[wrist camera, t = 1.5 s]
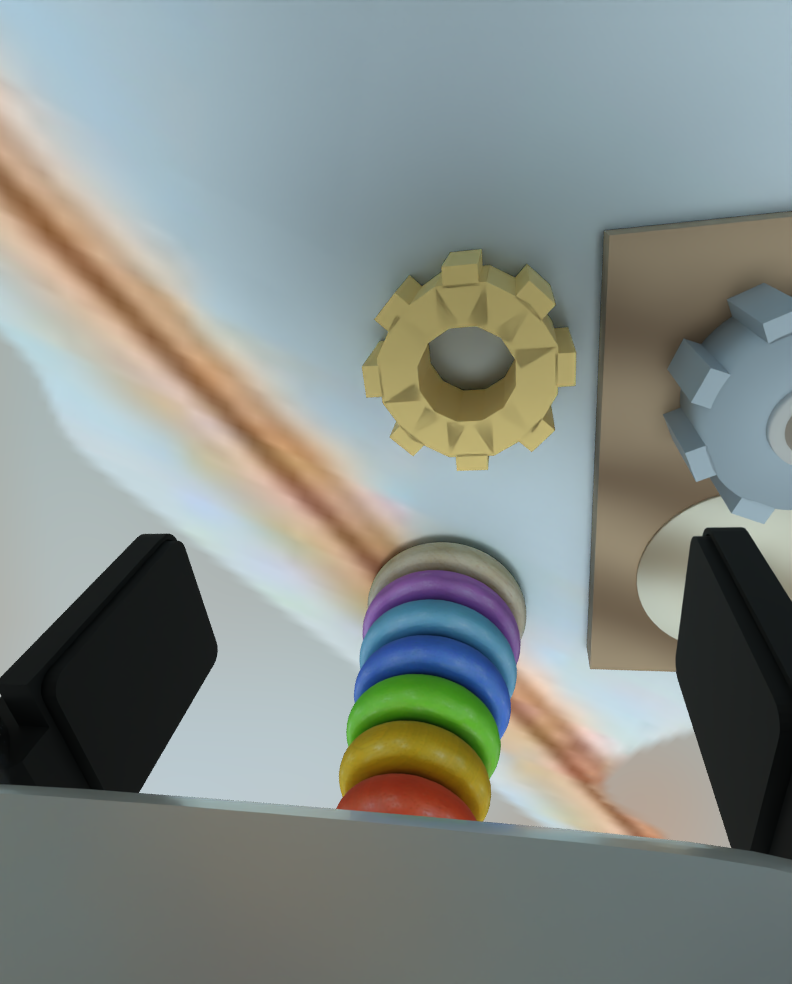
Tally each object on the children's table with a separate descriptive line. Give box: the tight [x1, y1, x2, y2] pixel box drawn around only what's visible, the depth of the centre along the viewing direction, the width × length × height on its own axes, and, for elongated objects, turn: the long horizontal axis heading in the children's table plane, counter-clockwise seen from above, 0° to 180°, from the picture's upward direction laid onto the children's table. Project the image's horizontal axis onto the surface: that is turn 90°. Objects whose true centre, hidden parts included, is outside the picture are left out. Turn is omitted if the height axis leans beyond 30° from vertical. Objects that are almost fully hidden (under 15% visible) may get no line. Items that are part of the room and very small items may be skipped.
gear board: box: [587, 211, 792, 672], centre depth 23 cm, size 20×12×6 cm, turn 7°
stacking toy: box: [336, 542, 526, 822], centre depth 23 cm, size 8×8×19 cm
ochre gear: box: [362, 249, 576, 471], centre depth 23 cm, size 8×8×4 cm
